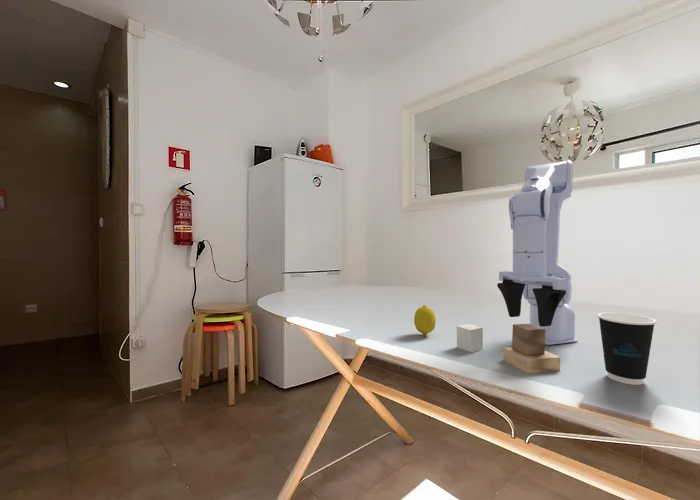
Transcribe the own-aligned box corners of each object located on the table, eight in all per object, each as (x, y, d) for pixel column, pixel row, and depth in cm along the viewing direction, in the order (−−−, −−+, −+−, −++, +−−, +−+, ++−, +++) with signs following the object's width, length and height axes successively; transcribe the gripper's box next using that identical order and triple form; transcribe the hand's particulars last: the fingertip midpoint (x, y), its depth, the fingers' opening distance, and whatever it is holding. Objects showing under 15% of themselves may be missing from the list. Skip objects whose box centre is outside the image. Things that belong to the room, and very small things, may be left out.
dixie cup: (627, 369, 60) (627, 311, 60) (669, 388, 53) (670, 322, 52) (585, 370, 60) (586, 312, 60) (622, 389, 52) (622, 323, 52)
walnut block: (528, 347, 66) (528, 323, 66) (544, 354, 62) (545, 328, 62) (511, 348, 65) (512, 324, 65) (527, 355, 61) (528, 329, 61)
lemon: (436, 339, 81) (436, 307, 81) (414, 338, 82) (413, 307, 82) (435, 332, 86) (434, 303, 86) (414, 332, 87) (414, 302, 87)
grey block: (468, 344, 76) (468, 323, 76) (482, 349, 73) (482, 327, 73) (456, 347, 74) (456, 326, 74) (470, 352, 71) (470, 330, 71)
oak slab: (533, 359, 67) (533, 345, 67) (560, 372, 60) (560, 357, 60) (503, 361, 66) (503, 347, 66) (527, 375, 59) (527, 359, 59)
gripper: (486, 251, 69) (487, 314, 69) (543, 254, 55) (543, 332, 55) (514, 251, 71) (514, 312, 71) (575, 253, 57) (575, 329, 57)
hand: (528, 320), depth 63 cm, fingers open, 7 cm apart
